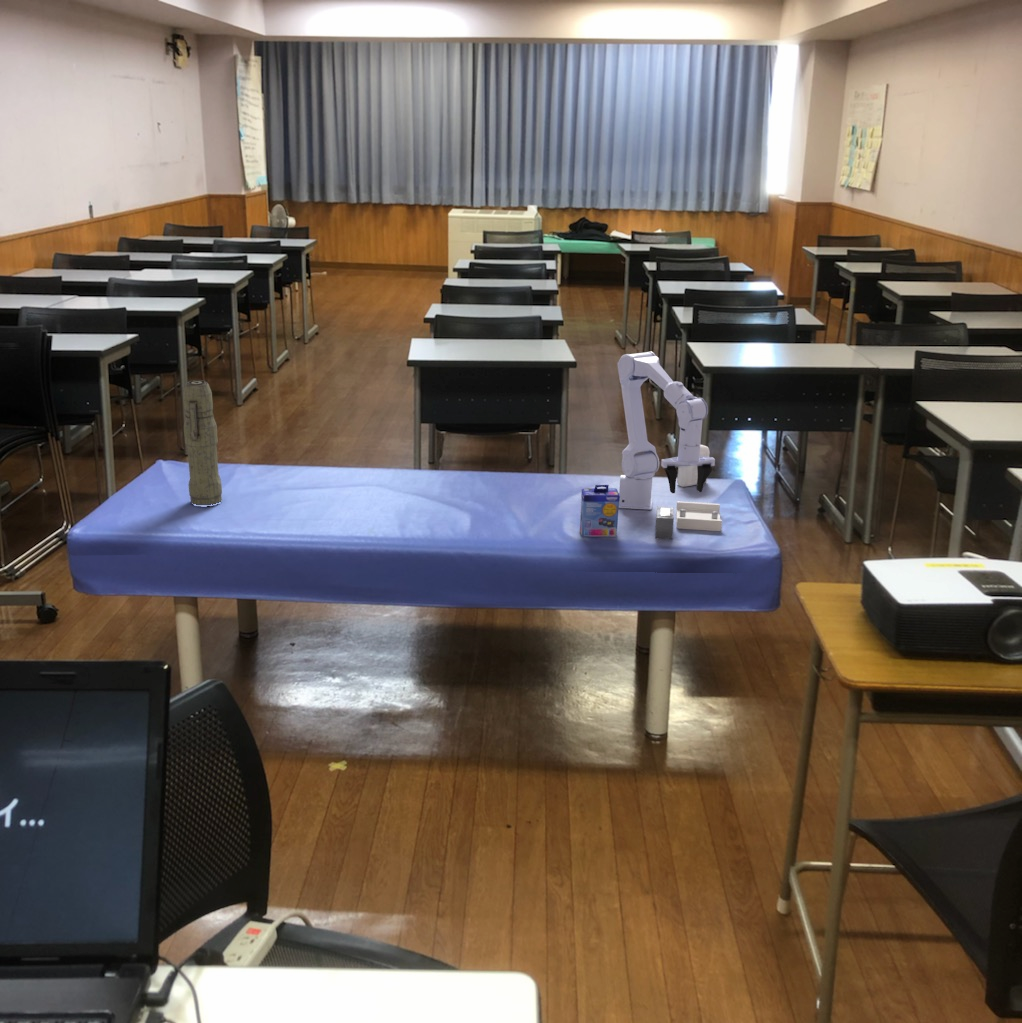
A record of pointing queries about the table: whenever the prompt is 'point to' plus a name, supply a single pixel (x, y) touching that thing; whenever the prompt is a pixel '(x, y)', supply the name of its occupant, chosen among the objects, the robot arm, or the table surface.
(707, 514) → the tray
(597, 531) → the ink cartridge box
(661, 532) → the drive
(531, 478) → the table surface
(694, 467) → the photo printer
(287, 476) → the table surface
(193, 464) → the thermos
